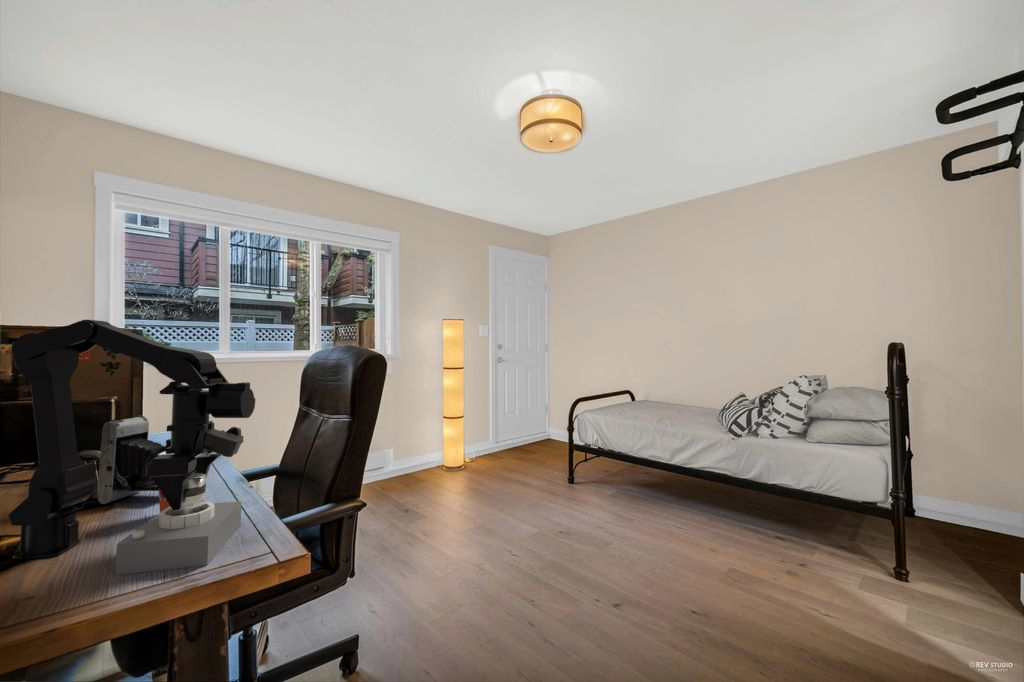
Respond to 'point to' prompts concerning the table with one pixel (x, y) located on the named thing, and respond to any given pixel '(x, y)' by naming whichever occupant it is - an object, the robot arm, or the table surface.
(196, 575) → the table surface
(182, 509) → the lens
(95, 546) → the table surface
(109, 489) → the vintage camera
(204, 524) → the camera body
